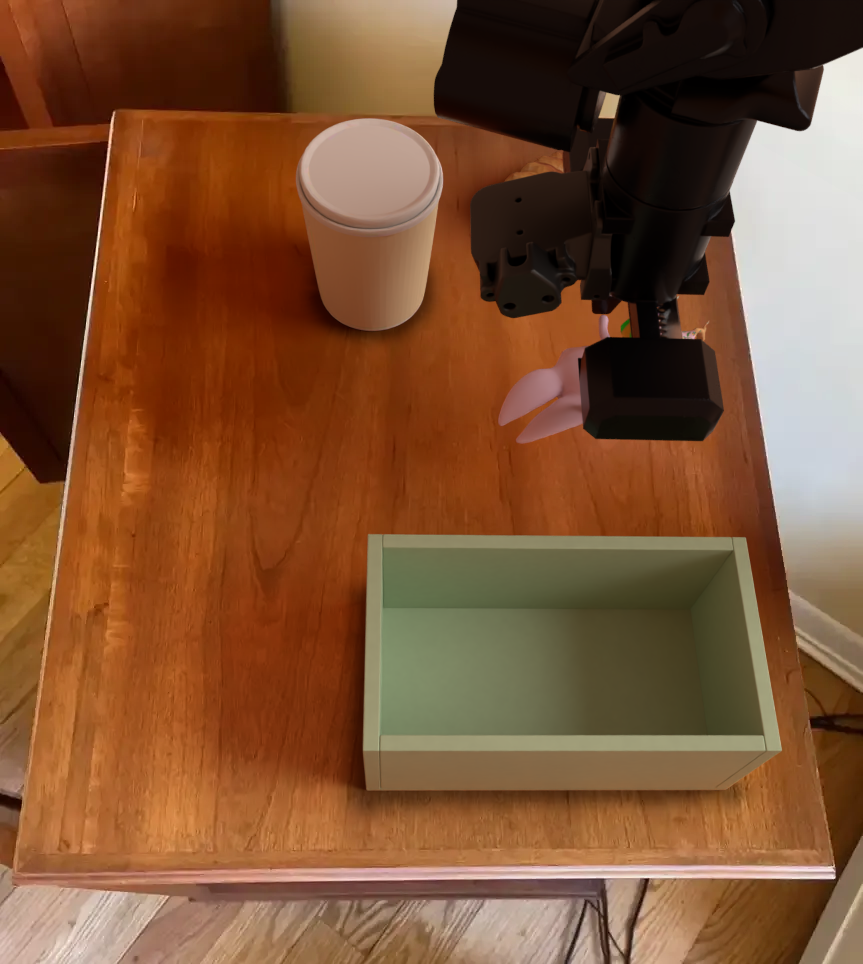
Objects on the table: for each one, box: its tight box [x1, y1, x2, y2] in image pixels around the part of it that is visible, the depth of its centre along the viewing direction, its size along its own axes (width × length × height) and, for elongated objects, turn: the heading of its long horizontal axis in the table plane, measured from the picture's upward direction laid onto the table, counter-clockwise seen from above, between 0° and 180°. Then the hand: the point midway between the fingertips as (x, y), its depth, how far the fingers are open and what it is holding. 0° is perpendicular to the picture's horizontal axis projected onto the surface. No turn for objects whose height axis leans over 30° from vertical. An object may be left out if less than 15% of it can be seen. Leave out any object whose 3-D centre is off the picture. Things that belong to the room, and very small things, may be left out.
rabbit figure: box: [497, 295, 710, 444], centre depth 57 cm, size 6×6×15 cm
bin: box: [362, 533, 783, 791], centre depth 56 cm, size 21×12×10 cm, turn 90°
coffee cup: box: [295, 117, 444, 332], centre depth 69 cm, size 9×9×12 cm
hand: (605, 365), depth 58 cm, fingers closed on rabbit figure, 7 cm apart
